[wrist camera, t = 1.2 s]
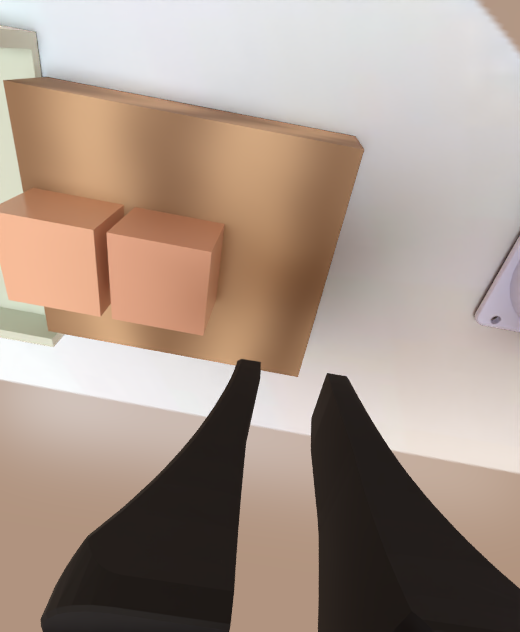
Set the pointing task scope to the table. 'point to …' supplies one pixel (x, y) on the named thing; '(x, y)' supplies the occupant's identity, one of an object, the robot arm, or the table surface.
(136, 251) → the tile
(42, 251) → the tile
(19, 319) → the tray
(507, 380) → the table surface
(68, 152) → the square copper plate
